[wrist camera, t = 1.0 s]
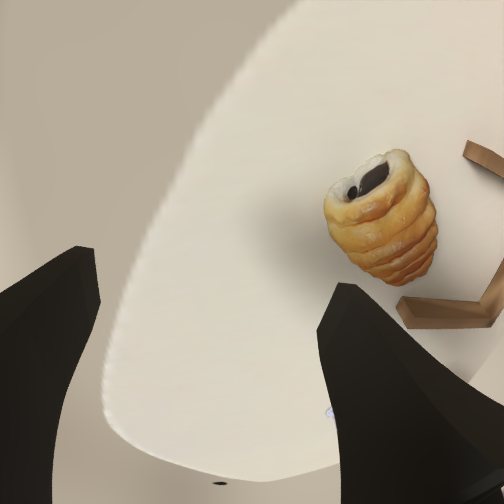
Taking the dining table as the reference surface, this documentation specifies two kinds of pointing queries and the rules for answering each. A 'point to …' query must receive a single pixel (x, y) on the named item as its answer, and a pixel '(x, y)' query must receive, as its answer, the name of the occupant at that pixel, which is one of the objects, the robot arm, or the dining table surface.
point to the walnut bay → (460, 312)
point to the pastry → (384, 218)
